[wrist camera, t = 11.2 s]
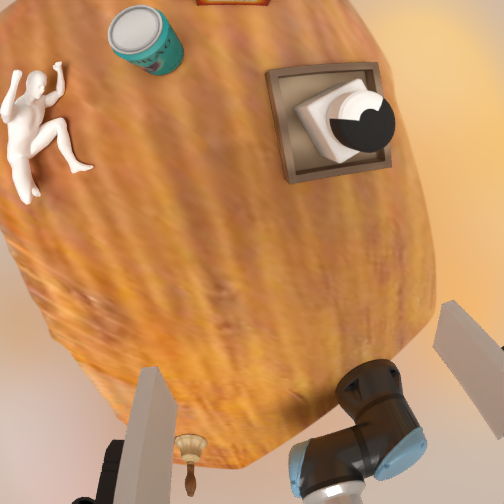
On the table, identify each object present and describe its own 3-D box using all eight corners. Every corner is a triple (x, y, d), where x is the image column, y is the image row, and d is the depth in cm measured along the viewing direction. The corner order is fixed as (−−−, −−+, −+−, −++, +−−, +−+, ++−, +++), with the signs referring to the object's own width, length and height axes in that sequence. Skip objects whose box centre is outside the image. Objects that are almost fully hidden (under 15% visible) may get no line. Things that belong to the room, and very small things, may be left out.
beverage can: (138, 73, 35) (96, 54, 21) (150, 35, 33) (116, 0, 19) (178, 80, 36) (153, 61, 22) (190, 42, 34) (174, 5, 20)
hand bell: (212, 439, 67) (214, 493, 52) (199, 451, 69) (199, 502, 55) (181, 430, 64) (178, 486, 50) (170, 444, 67) (166, 496, 52)
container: (364, 130, 40) (414, 139, 28) (320, 156, 41) (358, 173, 29) (338, 82, 37) (382, 72, 25) (291, 108, 38) (320, 104, 26)
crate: (380, 163, 43) (392, 167, 39) (284, 179, 43) (289, 184, 39) (366, 65, 36) (377, 62, 33) (264, 74, 36) (268, 70, 33)
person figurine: (58, 207, 31) (4, 70, 20) (4, 227, 33) (-43, 117, 23) (107, 163, 41) (69, 55, 31) (51, 184, 44) (15, 91, 33)
